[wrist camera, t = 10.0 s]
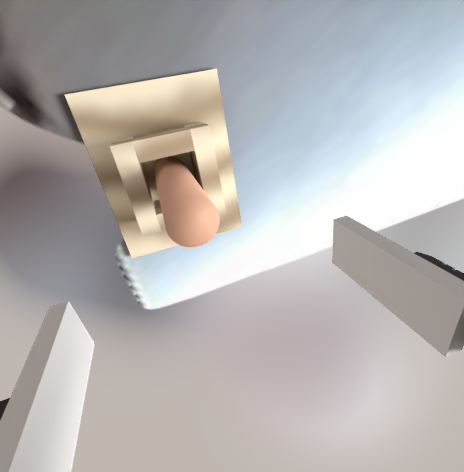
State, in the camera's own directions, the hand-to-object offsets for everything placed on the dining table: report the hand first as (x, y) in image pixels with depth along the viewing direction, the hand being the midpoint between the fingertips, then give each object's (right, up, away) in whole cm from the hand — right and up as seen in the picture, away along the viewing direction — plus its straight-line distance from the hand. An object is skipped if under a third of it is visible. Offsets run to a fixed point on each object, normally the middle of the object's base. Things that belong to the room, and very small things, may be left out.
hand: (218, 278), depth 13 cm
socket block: (-7, +10, +21) cm, 24 cm away
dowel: (-7, +10, +20) cm, 23 cm away
